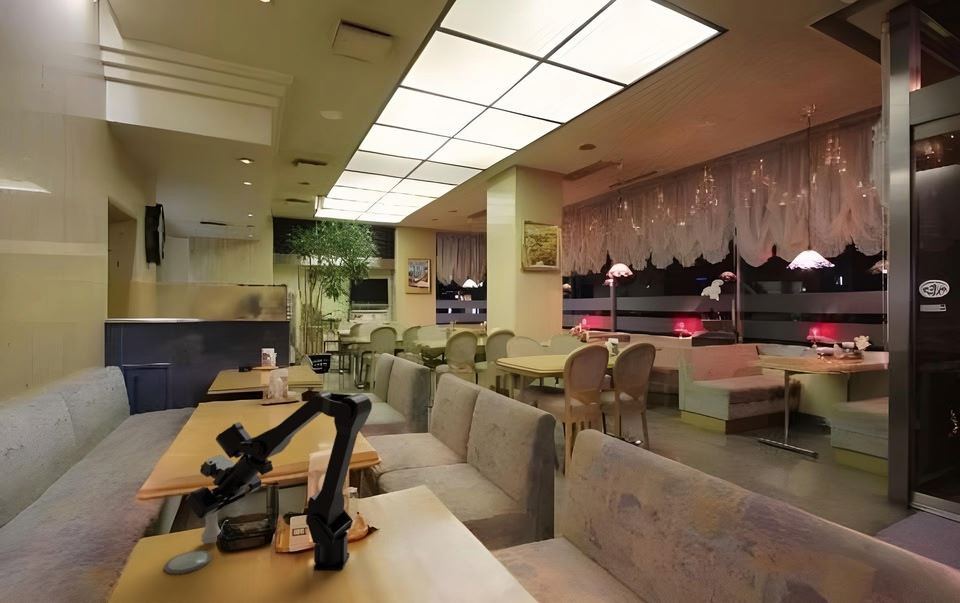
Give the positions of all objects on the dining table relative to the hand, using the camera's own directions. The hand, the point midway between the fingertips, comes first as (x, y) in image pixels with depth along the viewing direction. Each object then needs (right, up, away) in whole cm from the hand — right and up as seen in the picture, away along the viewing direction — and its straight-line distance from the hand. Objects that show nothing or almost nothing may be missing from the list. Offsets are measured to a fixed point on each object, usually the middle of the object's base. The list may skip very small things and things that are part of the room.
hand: (207, 512), depth 115 cm
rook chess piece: (+1, -7, -1) cm, 7 cm away
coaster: (+1, -7, -10) cm, 12 cm away
